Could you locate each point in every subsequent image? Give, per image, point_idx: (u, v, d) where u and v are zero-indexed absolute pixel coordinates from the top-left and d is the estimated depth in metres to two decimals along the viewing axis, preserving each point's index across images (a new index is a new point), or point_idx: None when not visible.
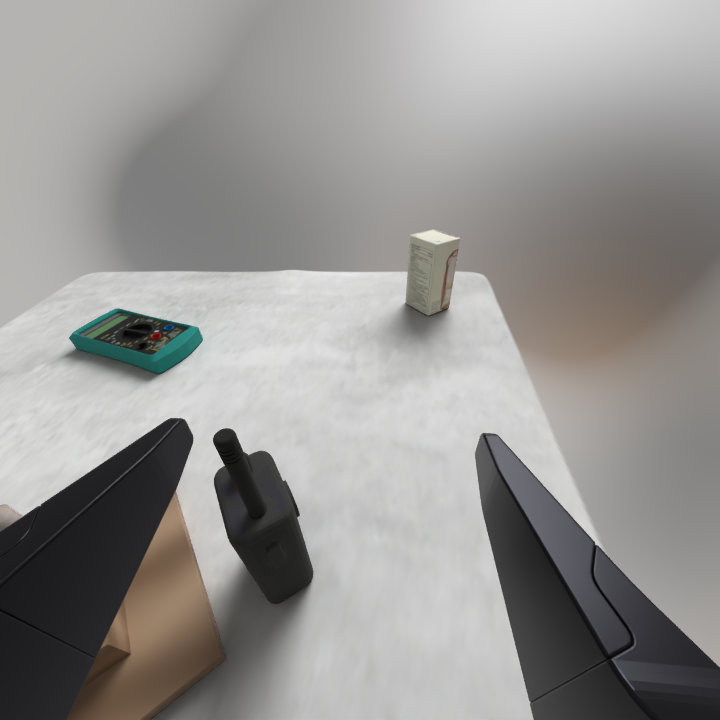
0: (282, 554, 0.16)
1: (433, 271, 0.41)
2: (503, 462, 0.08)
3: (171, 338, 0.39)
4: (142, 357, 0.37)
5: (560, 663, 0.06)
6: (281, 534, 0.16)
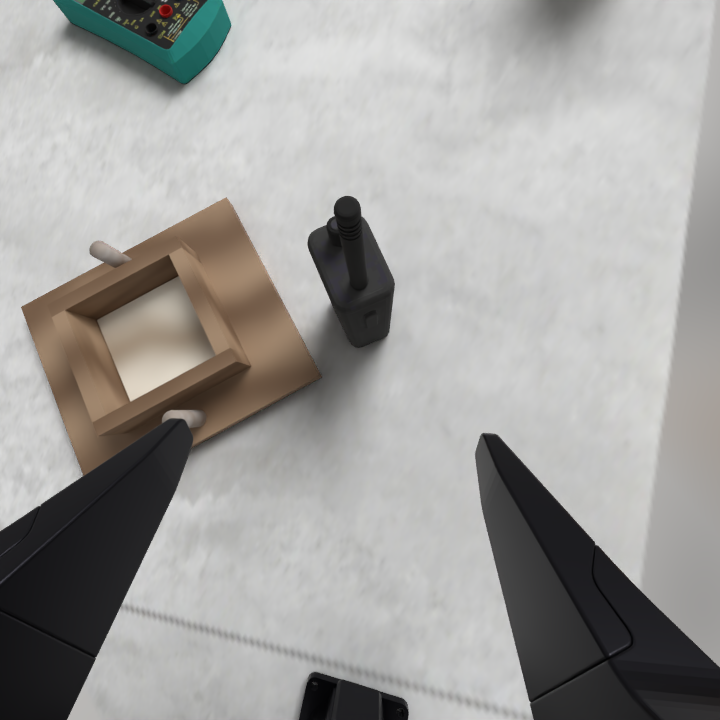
0: (376, 319, 0.17)
1: None
2: (503, 462, 0.08)
3: (187, 18, 0.27)
4: (156, 53, 0.27)
5: (560, 663, 0.06)
6: (380, 305, 0.16)
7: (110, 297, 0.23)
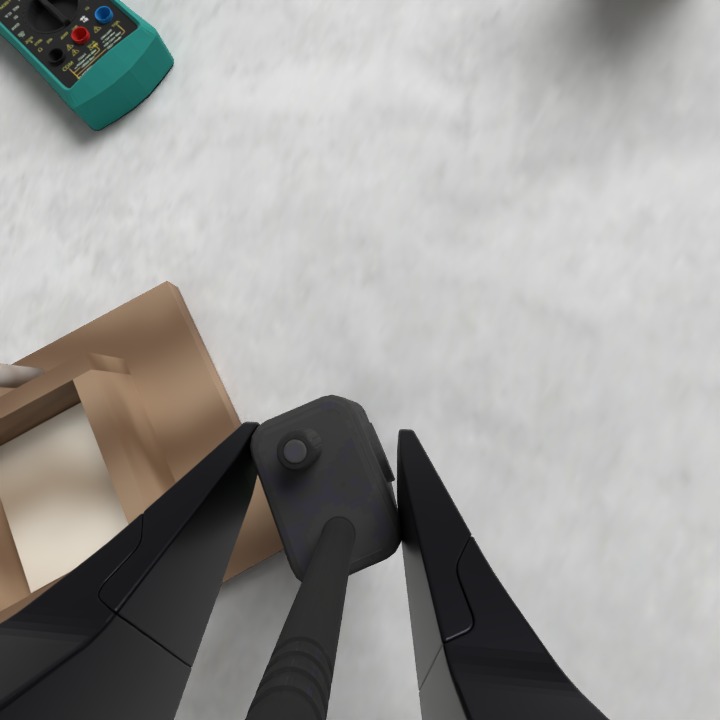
0: None
1: None
2: (409, 457, 0.08)
3: (105, 50, 0.20)
4: (56, 90, 0.20)
5: (427, 650, 0.06)
6: None
7: None
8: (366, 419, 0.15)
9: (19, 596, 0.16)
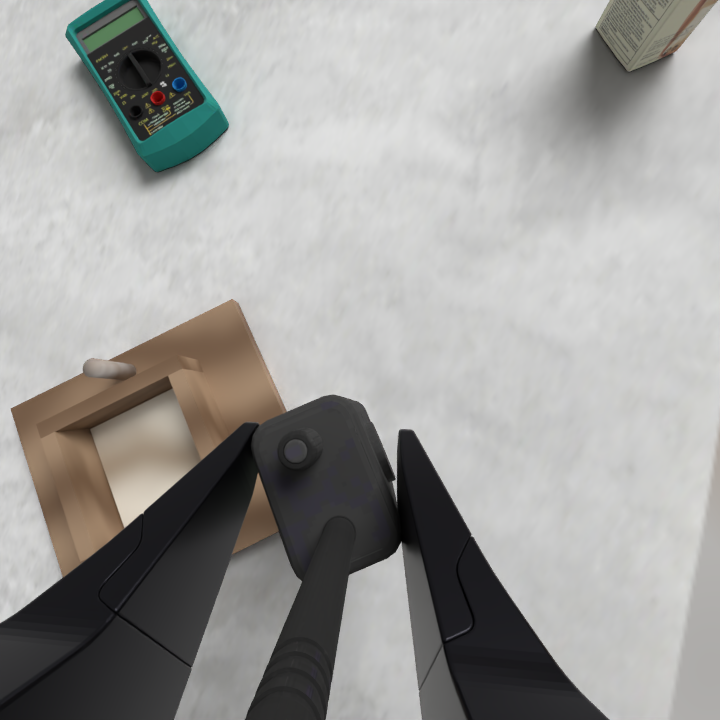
0: None
1: None
2: (409, 457, 0.08)
3: (174, 115, 0.25)
4: (130, 139, 0.25)
5: (427, 650, 0.06)
6: None
7: (104, 413, 0.22)
8: (367, 418, 0.15)
9: None
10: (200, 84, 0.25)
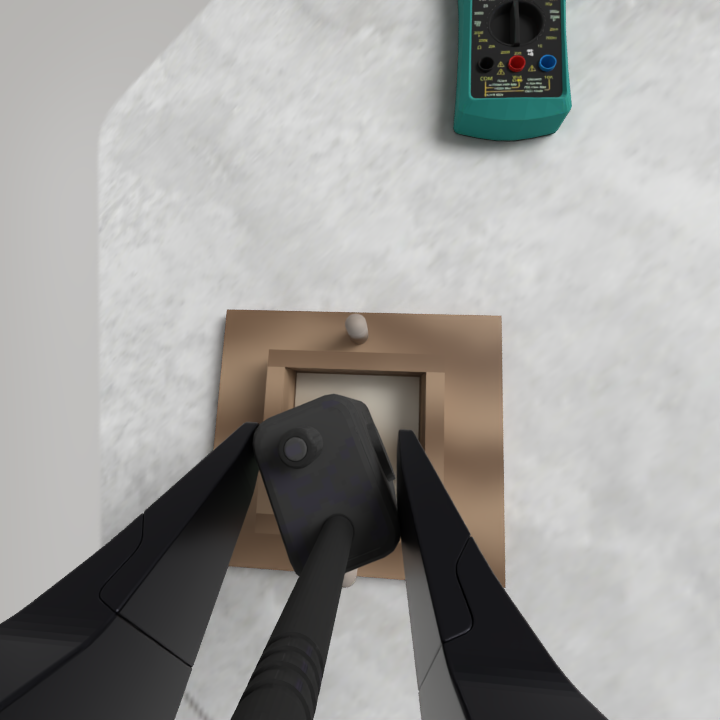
0: None
1: None
2: (408, 457, 0.08)
3: (522, 91, 0.21)
4: (462, 87, 0.22)
5: (426, 650, 0.06)
6: None
7: (331, 370, 0.19)
8: (369, 418, 0.15)
9: None
10: (568, 75, 0.21)
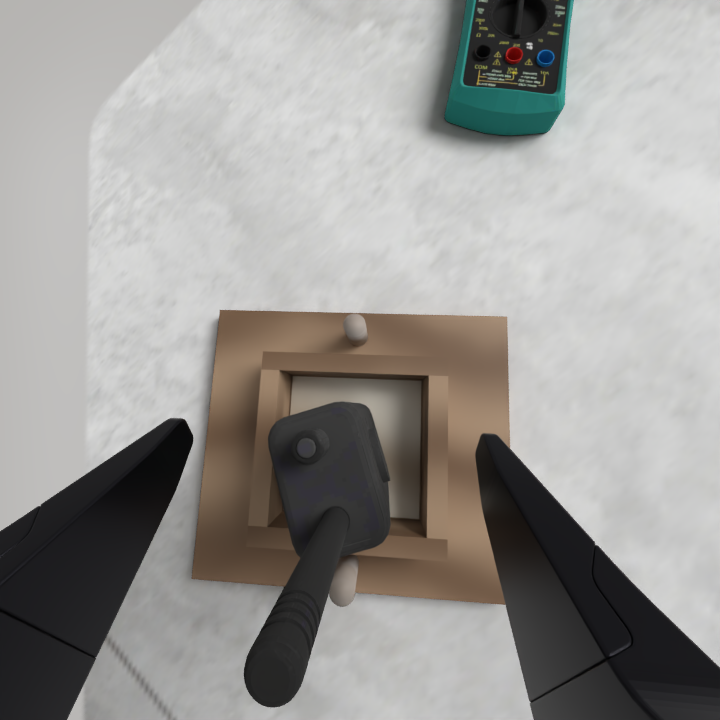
0: None
1: None
2: (503, 462, 0.08)
3: (515, 84, 0.21)
4: (455, 74, 0.21)
5: (560, 663, 0.06)
6: None
7: (328, 373, 0.18)
8: (371, 422, 0.16)
9: (279, 510, 0.18)
10: (564, 73, 0.21)
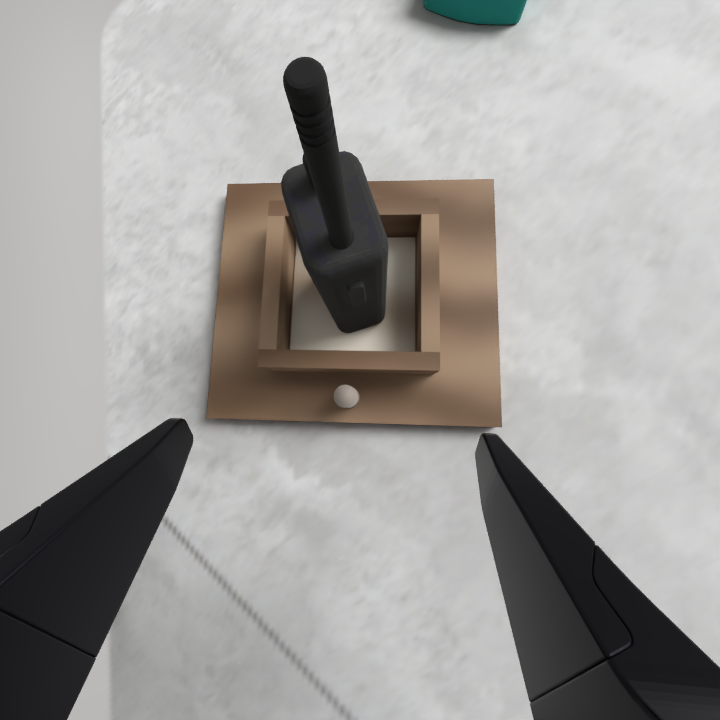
0: (364, 295, 0.14)
1: None
2: (503, 462, 0.08)
3: None
4: None
5: (560, 663, 0.06)
6: (368, 273, 0.12)
7: None
8: None
9: None
10: None
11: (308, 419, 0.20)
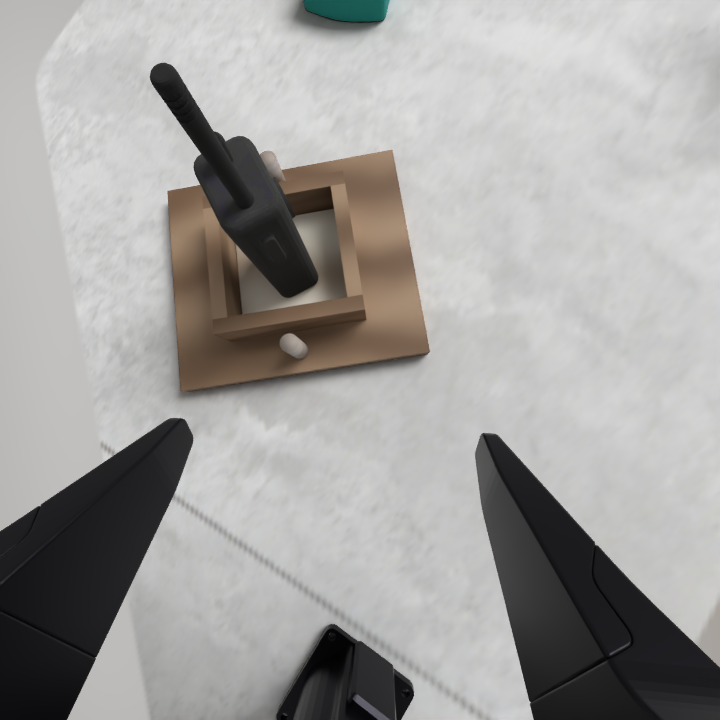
0: (280, 249, 0.17)
1: None
2: (503, 462, 0.08)
3: None
4: None
5: (560, 663, 0.06)
6: (274, 227, 0.16)
7: None
8: None
9: None
10: None
11: (268, 375, 0.23)
